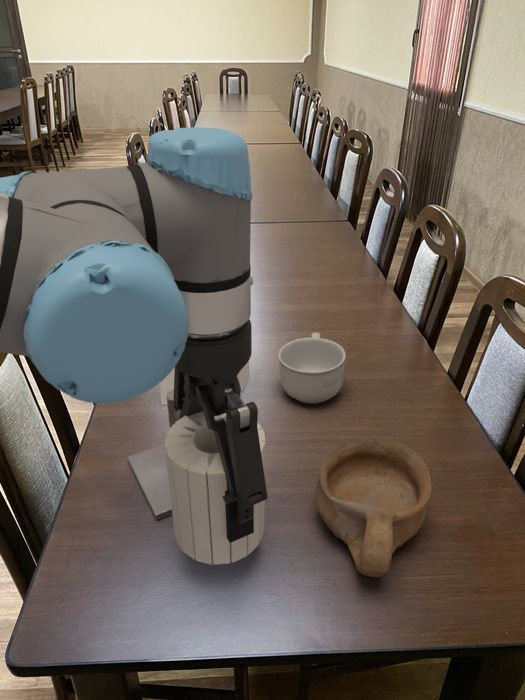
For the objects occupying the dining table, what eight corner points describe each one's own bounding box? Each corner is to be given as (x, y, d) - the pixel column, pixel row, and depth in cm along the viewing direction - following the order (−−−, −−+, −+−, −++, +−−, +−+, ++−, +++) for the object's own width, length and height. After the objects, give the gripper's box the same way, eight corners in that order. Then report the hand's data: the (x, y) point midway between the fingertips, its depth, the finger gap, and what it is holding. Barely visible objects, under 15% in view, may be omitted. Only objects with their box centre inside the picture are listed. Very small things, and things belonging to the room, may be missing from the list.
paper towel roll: (196, 579, 55) (187, 487, 48) (162, 512, 62) (151, 425, 56) (280, 541, 59) (283, 451, 52) (239, 482, 67) (237, 398, 60)
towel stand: (156, 520, 67) (145, 437, 60) (128, 461, 76) (115, 383, 69) (242, 487, 72) (241, 406, 65) (206, 435, 81) (201, 359, 74)
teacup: (332, 418, 85) (336, 376, 80) (268, 403, 88) (268, 362, 84) (352, 373, 96) (356, 334, 92) (294, 361, 99) (296, 323, 95)
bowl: (470, 584, 58) (463, 525, 53) (343, 614, 59) (324, 560, 54) (416, 467, 73) (407, 412, 68) (316, 493, 74) (300, 441, 69)
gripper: (316, 370, 40) (303, 564, 52) (197, 267, 57) (207, 430, 69) (225, 399, 37) (232, 598, 49) (128, 281, 54) (151, 449, 65)
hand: (218, 500), depth 59 cm, fingers closed on paper towel roll, 10 cm apart
